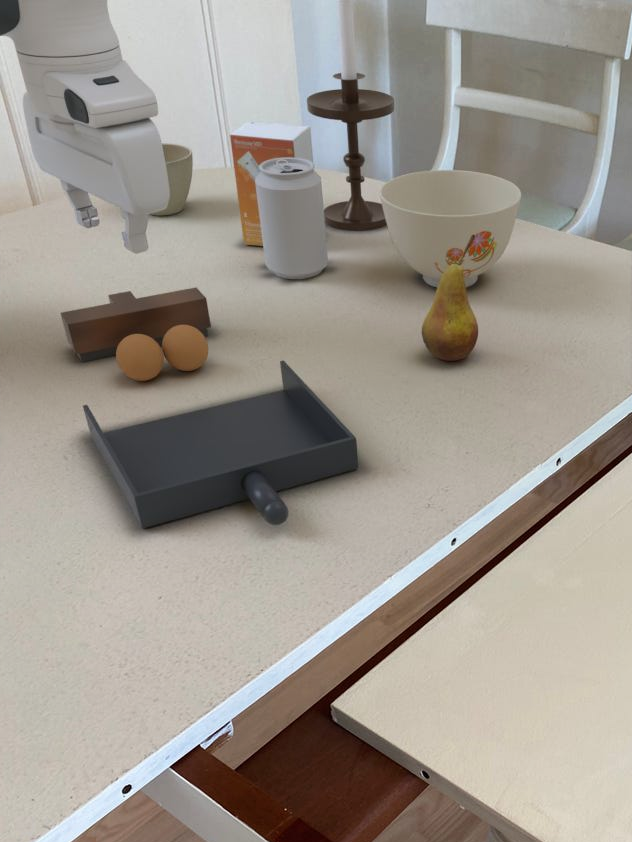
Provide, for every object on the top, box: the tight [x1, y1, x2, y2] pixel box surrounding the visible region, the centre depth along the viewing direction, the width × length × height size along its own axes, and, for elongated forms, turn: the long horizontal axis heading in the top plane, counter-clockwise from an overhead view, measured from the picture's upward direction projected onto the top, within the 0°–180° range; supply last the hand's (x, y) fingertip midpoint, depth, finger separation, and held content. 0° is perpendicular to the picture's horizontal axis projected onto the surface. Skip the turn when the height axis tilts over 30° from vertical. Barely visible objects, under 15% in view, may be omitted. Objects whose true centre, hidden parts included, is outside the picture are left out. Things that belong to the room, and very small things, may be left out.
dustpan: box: [82, 360, 359, 529], centre depth 83 cm, size 22×19×3 cm
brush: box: [60, 287, 212, 363], centre depth 102 cm, size 14×8×4 cm, turn 120°
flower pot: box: [150, 142, 194, 216], centre depth 130 cm, size 10×10×7 cm
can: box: [255, 157, 329, 280], centre depth 113 cm, size 8×8×12 cm
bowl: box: [379, 169, 522, 289], centre depth 113 cm, size 16×16×10 cm
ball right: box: [161, 325, 209, 372], centre depth 96 cm, size 4×4×4 cm
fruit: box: [421, 235, 479, 362], centre depth 97 cm, size 6×6×12 cm
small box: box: [229, 121, 315, 247], centre depth 120 cm, size 8×6×13 cm
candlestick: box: [306, 0, 395, 232], centre depth 119 cm, size 11×11×35 cm
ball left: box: [115, 334, 165, 382], centre depth 95 cm, size 4×4×4 cm
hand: (112, 237), depth 98 cm, fingers open, 8 cm apart
